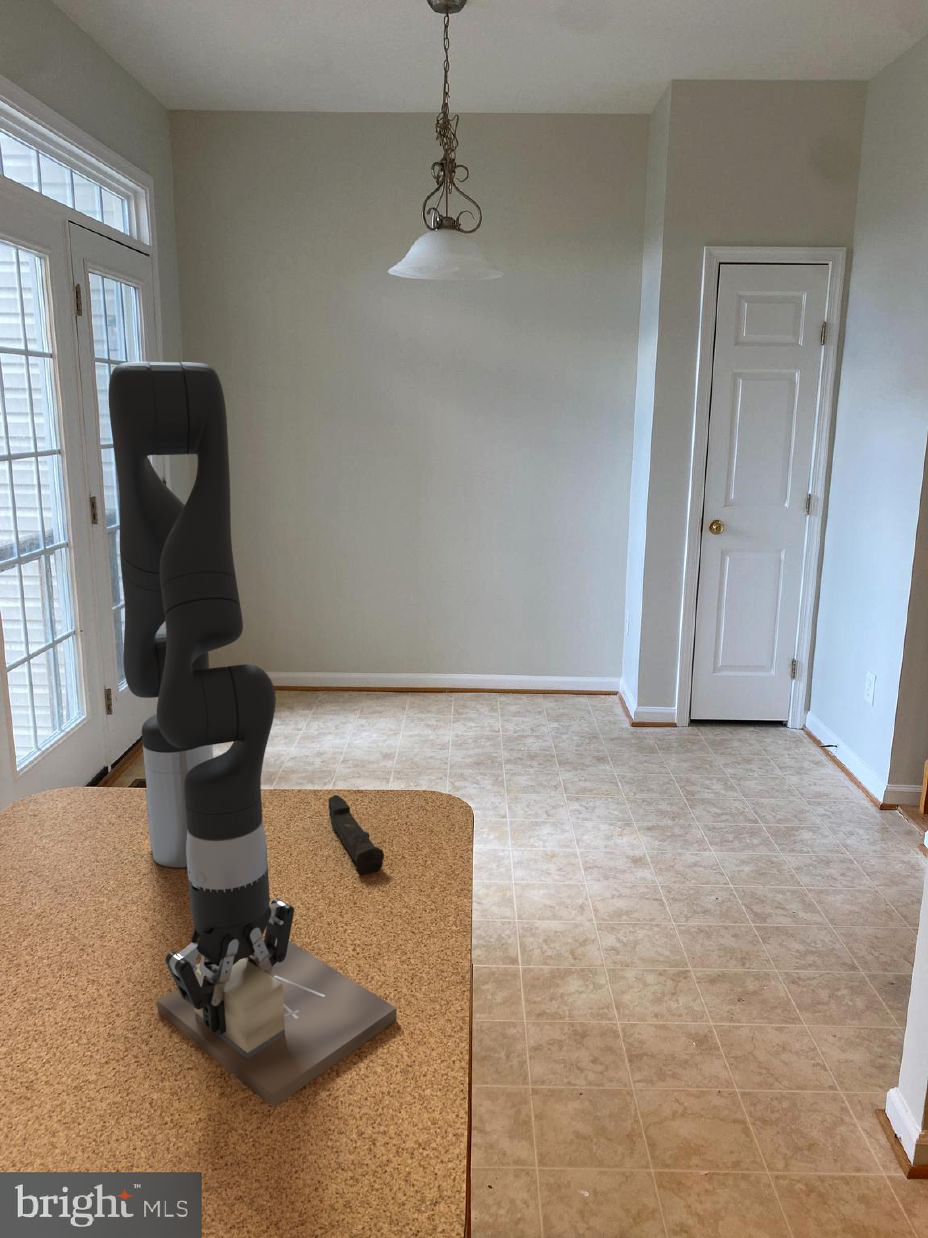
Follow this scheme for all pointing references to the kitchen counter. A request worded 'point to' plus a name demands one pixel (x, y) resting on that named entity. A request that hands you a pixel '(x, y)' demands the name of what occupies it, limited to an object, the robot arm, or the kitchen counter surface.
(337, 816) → the hand tool
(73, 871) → the kitchen counter surface
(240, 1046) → the block
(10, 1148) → the kitchen counter surface
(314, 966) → the walnut board
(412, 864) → the kitchen counter surface
